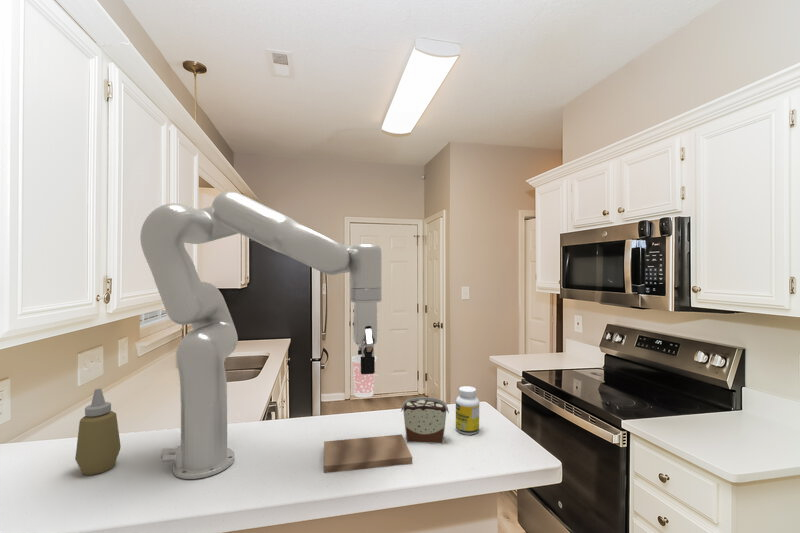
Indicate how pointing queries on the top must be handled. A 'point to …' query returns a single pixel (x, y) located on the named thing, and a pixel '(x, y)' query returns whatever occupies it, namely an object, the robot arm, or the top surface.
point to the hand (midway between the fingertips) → (366, 369)
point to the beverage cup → (362, 379)
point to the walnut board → (365, 453)
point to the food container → (424, 420)
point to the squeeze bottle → (97, 437)
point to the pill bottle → (467, 411)
